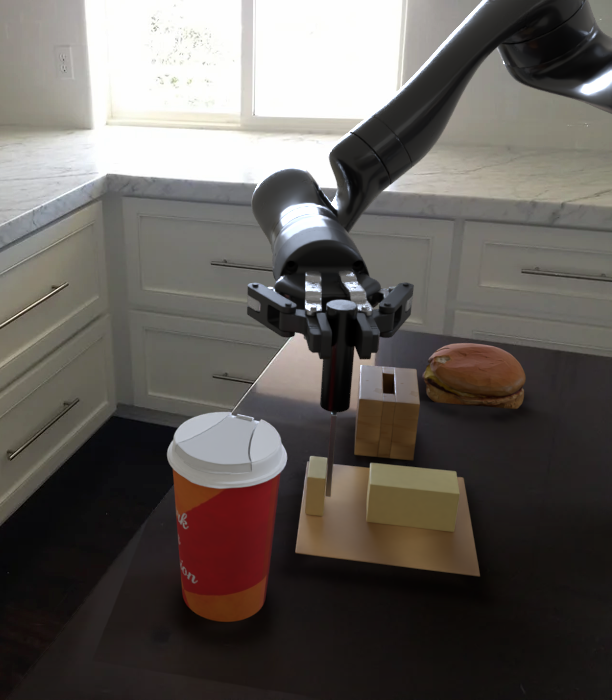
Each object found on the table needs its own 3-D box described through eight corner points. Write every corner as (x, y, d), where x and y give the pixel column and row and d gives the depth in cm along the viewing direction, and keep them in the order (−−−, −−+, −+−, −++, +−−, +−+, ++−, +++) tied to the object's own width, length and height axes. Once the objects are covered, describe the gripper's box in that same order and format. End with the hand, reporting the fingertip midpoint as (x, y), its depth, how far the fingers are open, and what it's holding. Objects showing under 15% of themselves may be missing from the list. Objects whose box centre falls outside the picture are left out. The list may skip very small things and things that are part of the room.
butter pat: (325, 494, 71) (327, 457, 69) (322, 516, 68) (325, 478, 67) (307, 492, 71) (310, 455, 70) (304, 514, 68) (307, 476, 67)
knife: (343, 477, 70) (358, 298, 63) (342, 498, 67) (357, 313, 61) (315, 474, 70) (327, 296, 64) (313, 495, 67) (325, 311, 61)
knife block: (408, 435, 82) (416, 368, 79) (411, 474, 76) (420, 404, 73) (354, 430, 83) (360, 364, 80) (353, 468, 77) (359, 398, 74)
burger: (542, 406, 87) (550, 364, 85) (467, 425, 84) (473, 382, 82) (474, 368, 95) (480, 328, 93) (403, 384, 92) (407, 344, 90)
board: (461, 492, 73) (463, 477, 73) (477, 592, 62) (480, 576, 61) (306, 475, 76) (307, 461, 76) (294, 568, 65) (295, 552, 64)
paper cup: (197, 562, 66) (198, 398, 60) (294, 592, 62) (304, 423, 57) (148, 627, 59) (144, 451, 54) (253, 665, 56) (260, 482, 50)
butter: (450, 508, 69) (456, 471, 67) (454, 532, 66) (460, 493, 64) (366, 499, 70) (370, 462, 69) (366, 522, 67) (370, 484, 66)
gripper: (238, 225, 75) (248, 297, 59) (401, 224, 74) (455, 296, 58) (236, 306, 78) (245, 394, 62) (393, 306, 77) (442, 395, 61)
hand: (346, 346), depth 60 cm, fingers closed on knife, 2 cm apart
